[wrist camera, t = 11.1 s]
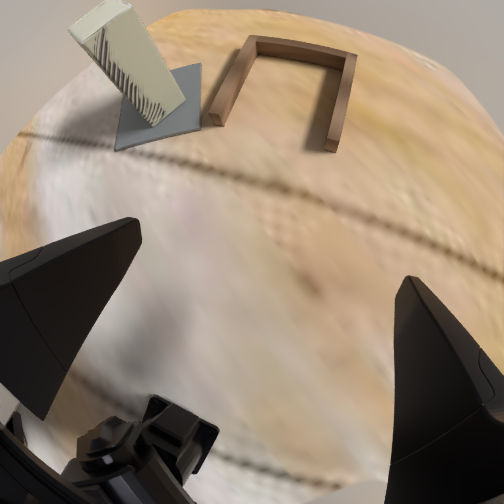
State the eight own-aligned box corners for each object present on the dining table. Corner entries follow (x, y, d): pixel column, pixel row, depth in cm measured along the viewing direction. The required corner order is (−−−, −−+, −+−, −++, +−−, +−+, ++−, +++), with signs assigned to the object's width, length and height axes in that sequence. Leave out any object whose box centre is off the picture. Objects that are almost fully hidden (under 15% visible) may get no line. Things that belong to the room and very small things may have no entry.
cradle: (336, 152, 22) (339, 141, 20) (213, 124, 23) (207, 112, 21) (354, 67, 22) (357, 54, 20) (252, 47, 24) (249, 34, 22)
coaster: (200, 130, 23) (199, 128, 23) (117, 151, 25) (115, 149, 24) (201, 64, 25) (200, 62, 24) (127, 86, 26) (126, 84, 25)
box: (132, 105, 25) (64, 29, 12) (164, 79, 25) (109, -6, 12) (154, 130, 24) (78, 44, 11) (190, 101, 24) (133, 2, 11)
